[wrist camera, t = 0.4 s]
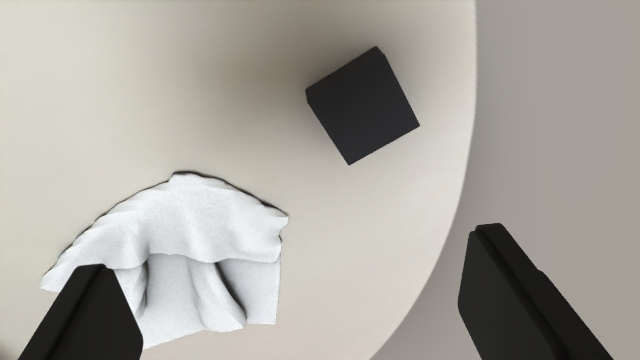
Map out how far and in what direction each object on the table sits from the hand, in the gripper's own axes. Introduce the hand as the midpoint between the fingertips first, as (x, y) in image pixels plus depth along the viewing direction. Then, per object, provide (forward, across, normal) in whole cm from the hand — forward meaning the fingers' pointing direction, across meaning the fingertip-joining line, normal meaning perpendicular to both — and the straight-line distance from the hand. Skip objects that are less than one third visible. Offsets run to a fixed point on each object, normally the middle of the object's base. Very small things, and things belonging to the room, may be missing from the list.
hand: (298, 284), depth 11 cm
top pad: (+19, -5, +2) cm, 20 cm away
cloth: (+19, +12, +16) cm, 28 cm away
